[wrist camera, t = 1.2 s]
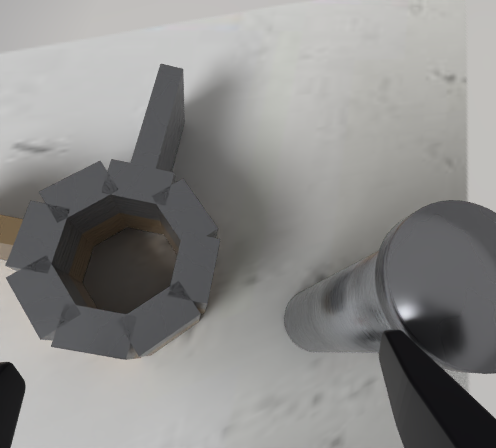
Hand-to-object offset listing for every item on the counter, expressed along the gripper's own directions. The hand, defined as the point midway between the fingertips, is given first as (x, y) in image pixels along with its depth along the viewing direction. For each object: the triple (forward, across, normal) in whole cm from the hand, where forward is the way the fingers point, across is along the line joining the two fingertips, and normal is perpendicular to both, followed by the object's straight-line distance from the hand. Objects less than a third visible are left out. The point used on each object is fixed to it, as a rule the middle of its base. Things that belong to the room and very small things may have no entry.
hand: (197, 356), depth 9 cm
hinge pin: (+9, -4, +10) cm, 14 cm away
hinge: (+12, +6, +5) cm, 14 cm away
